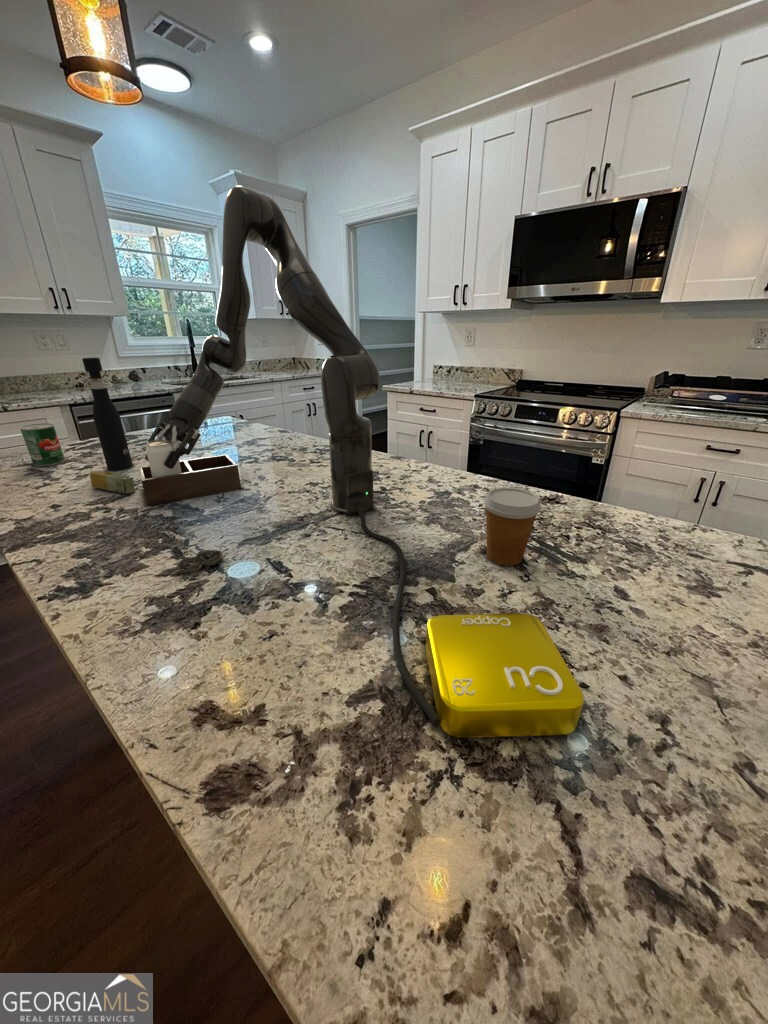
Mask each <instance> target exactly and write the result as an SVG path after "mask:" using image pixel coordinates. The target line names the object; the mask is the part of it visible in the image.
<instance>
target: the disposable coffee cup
mask: <svg viewBox="0 0 768 1024" xmlns="http://www.w3.org/2000/svg"><path fill="white" fill-rule="evenodd" d="M483 505H484V507H485V524H486V527H485V529H486V531H485V532H486V533H485V534H486V557H487V559H488V560H490V561H491V562H493V563H495V564H497V565H501V566H509V567H510V566H517V565H519V564H521V562H522V561H523V557H524V554H525V551H526V549H527V545H528V542H529V539H530V536H531V533H532V531H533V530H532V529H533V527H534V524H535V521H536V517H537V515H539V512H541V509H542V505H541V504H540V498H539V496H538V495H536V494H535V493H533V492H531V491H529V490H526V489H521V488H517V487H496V488H494V489H493V488H492V489H491V490H489V491H488V492H487V494H486V496H485V497H484V499H483Z"/></svg>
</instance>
